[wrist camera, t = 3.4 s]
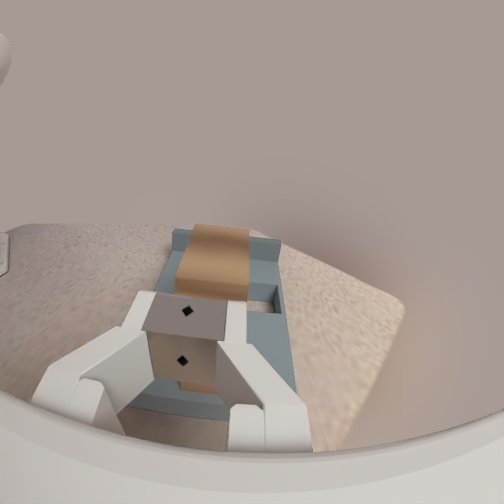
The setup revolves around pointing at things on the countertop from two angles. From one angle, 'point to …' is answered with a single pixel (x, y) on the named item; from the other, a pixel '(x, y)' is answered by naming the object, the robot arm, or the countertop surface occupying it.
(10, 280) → the countertop surface
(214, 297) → the block
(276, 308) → the deck
